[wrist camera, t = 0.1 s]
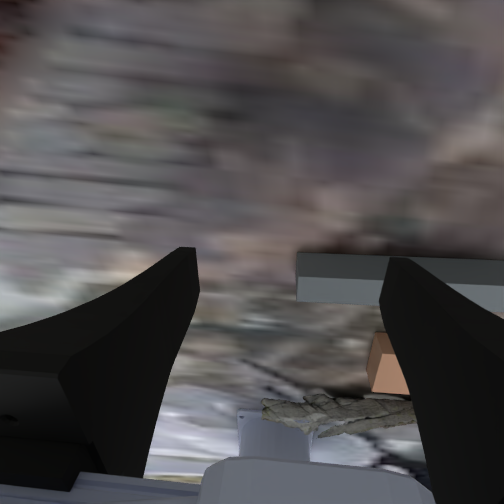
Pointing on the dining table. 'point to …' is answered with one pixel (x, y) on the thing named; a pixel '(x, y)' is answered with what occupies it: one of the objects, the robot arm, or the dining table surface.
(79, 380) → the robot arm
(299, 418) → the driftwood
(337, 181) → the dining table surface
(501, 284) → the slate curb
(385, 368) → the tile
